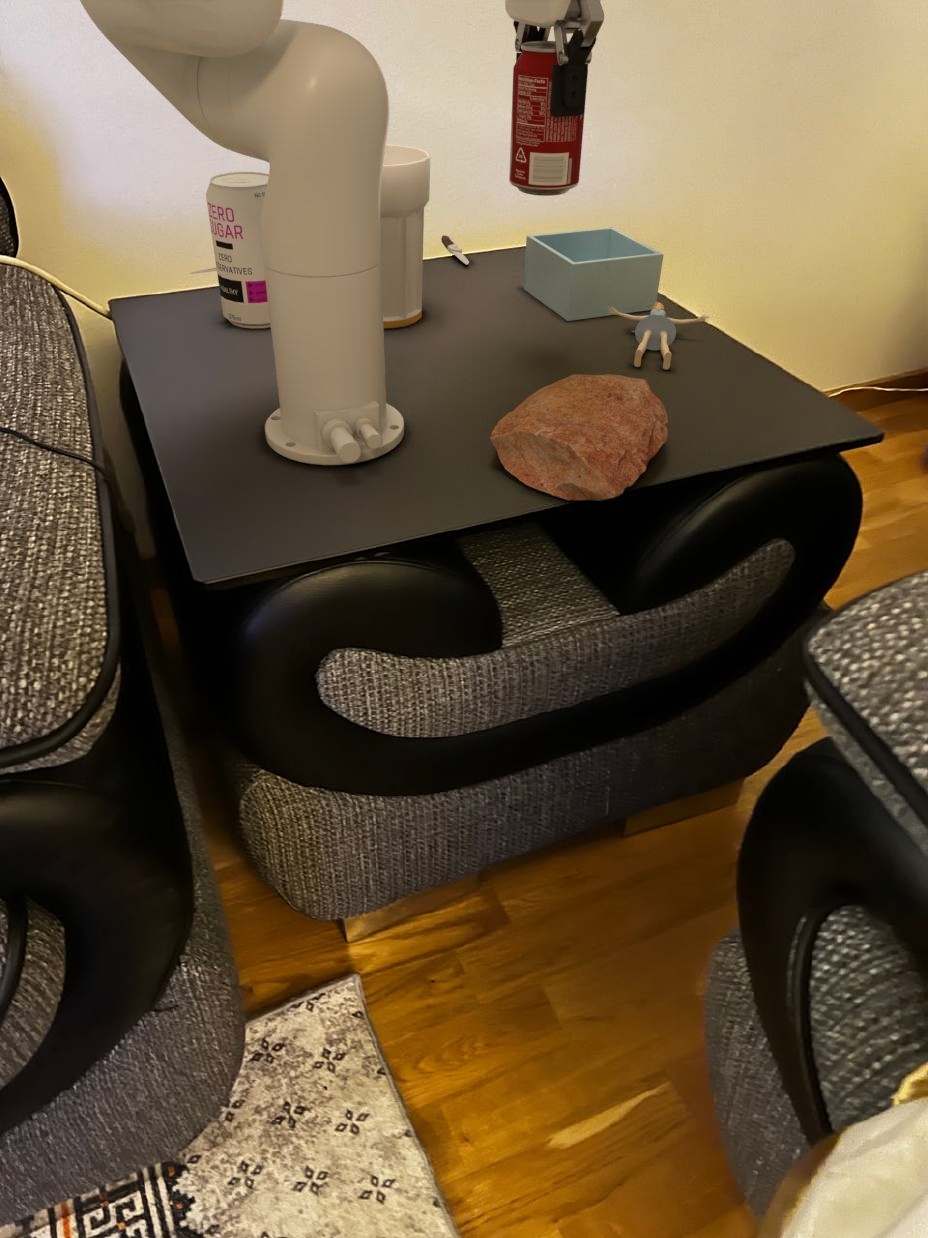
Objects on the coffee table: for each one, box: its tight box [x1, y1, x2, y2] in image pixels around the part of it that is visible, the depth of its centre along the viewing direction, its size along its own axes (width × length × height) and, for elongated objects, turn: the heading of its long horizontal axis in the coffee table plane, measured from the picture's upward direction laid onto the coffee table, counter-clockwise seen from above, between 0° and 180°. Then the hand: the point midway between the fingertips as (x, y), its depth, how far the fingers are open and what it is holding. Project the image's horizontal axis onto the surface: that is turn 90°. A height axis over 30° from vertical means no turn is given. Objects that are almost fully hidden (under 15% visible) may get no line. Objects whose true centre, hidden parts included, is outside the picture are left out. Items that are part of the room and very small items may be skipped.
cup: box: [380, 143, 431, 330], centre depth 102 cm, size 11×11×17 cm
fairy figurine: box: [607, 301, 710, 370], centre depth 100 cm, size 12×5×12 cm
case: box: [523, 226, 665, 322], centre depth 111 cm, size 12×12×7 cm
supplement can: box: [205, 171, 271, 329], centre depth 101 cm, size 8×8×15 cm
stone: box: [489, 373, 669, 502], centre depth 80 cm, size 14×6×20 cm
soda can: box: [508, 40, 589, 197], centre depth 84 cm, size 7×7×12 cm
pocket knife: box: [440, 234, 470, 266], centre depth 127 cm, size 14×1×2 cm
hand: (548, 106), depth 84 cm, fingers closed on soda can, 6 cm apart
